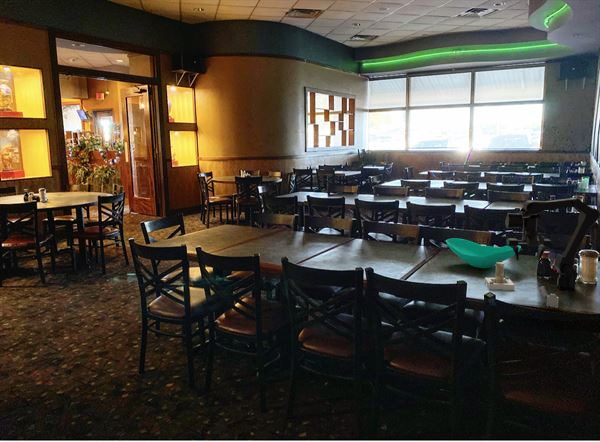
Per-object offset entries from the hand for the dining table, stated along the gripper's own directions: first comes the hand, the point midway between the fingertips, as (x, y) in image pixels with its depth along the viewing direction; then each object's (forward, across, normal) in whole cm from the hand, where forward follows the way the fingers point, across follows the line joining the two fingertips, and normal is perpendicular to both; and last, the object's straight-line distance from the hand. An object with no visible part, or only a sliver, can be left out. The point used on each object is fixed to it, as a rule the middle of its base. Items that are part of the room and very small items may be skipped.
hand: (528, 260), depth 218 cm
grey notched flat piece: (+13, +2, -25) cm, 28 cm away
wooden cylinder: (+13, -12, 0) cm, 18 cm away
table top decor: (+13, -14, +36) cm, 41 cm away
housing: (+13, -12, +1) cm, 18 cm away
